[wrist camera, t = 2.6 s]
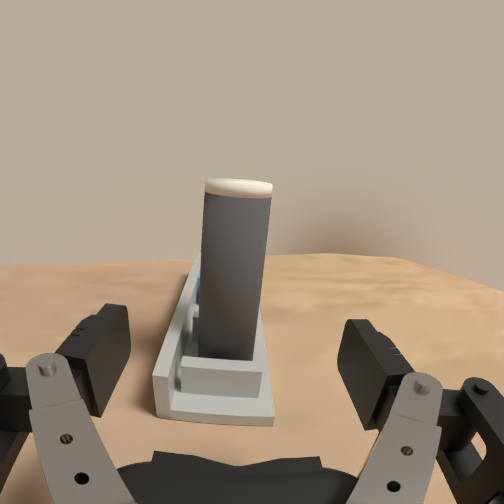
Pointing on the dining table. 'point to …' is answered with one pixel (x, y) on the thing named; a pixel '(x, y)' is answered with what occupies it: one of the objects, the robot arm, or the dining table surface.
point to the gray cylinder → (232, 266)
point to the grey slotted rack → (209, 373)
